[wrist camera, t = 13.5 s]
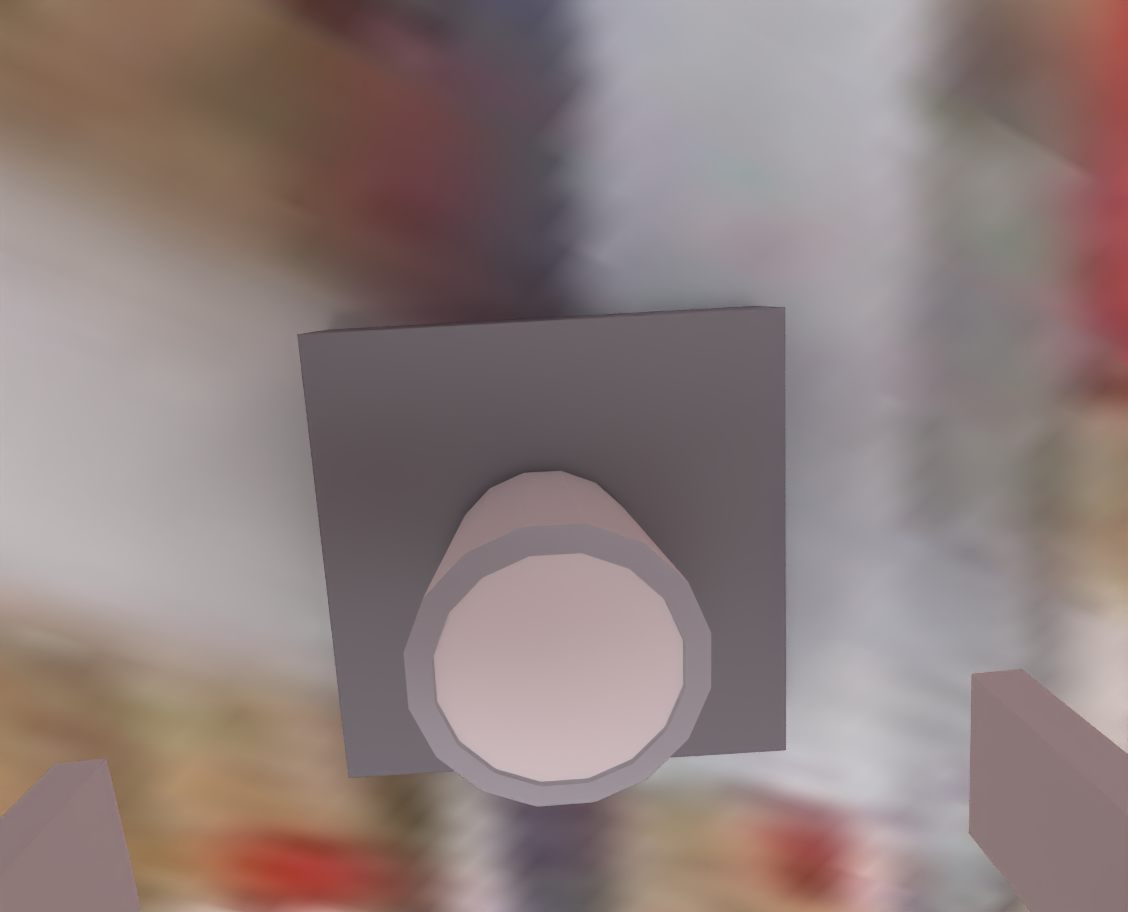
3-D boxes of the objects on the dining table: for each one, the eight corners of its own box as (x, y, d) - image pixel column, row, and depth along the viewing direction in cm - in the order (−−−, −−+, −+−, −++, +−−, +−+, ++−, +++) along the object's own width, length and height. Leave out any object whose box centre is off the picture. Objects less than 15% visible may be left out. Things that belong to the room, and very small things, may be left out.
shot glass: (702, 580, 25) (773, 698, 18) (522, 704, 26) (527, 863, 19) (572, 402, 24) (597, 460, 17) (384, 539, 24) (335, 647, 17)
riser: (332, 329, 27) (297, 334, 23) (750, 305, 28) (784, 307, 24) (373, 714, 30) (348, 777, 26) (754, 691, 30) (785, 750, 26)
